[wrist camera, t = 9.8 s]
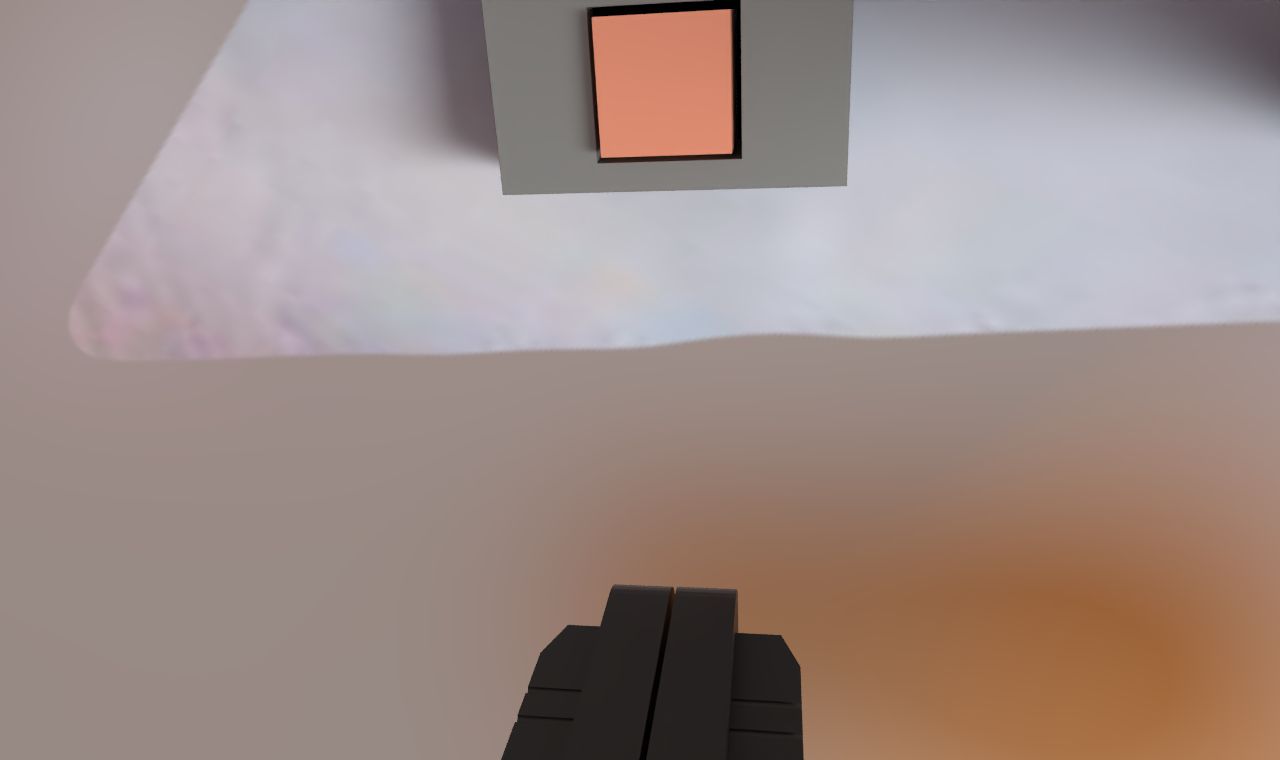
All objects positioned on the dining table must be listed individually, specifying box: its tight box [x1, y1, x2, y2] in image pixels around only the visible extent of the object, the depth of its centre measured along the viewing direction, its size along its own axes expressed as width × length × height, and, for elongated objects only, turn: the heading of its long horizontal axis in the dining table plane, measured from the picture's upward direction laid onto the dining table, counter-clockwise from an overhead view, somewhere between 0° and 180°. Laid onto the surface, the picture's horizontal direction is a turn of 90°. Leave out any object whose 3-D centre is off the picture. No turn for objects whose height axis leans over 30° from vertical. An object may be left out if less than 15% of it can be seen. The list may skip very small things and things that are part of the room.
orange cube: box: [592, 9, 738, 158], centre depth 31 cm, size 4×4×4 cm
